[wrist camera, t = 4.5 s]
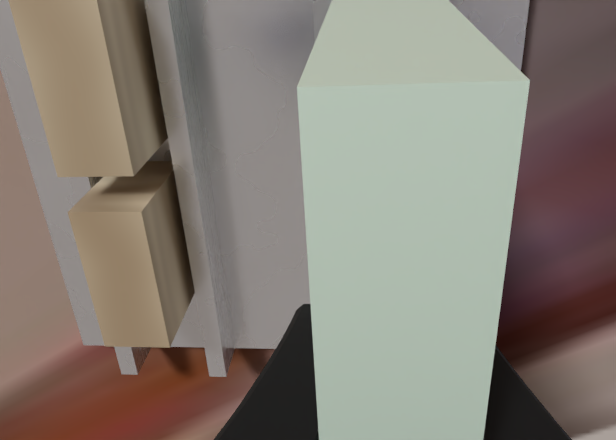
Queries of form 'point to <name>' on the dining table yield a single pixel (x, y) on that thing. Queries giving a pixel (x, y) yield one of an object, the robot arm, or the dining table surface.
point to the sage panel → (406, 216)
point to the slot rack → (221, 160)
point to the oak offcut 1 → (93, 83)
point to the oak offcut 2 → (135, 256)
